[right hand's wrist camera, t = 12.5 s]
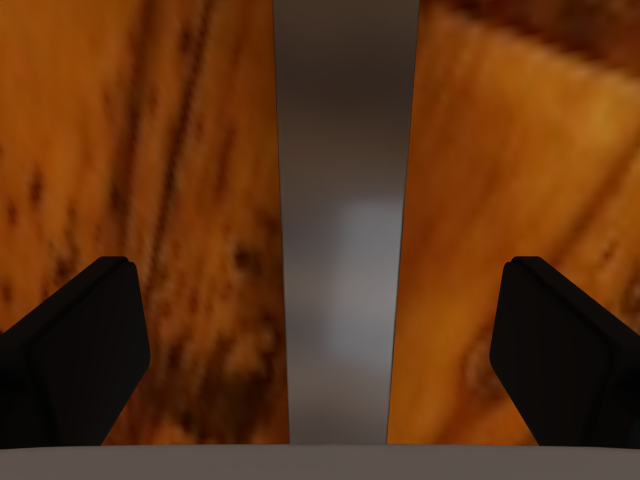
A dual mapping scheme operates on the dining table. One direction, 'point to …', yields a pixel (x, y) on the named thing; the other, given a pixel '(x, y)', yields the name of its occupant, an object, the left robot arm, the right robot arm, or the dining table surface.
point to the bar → (342, 206)
